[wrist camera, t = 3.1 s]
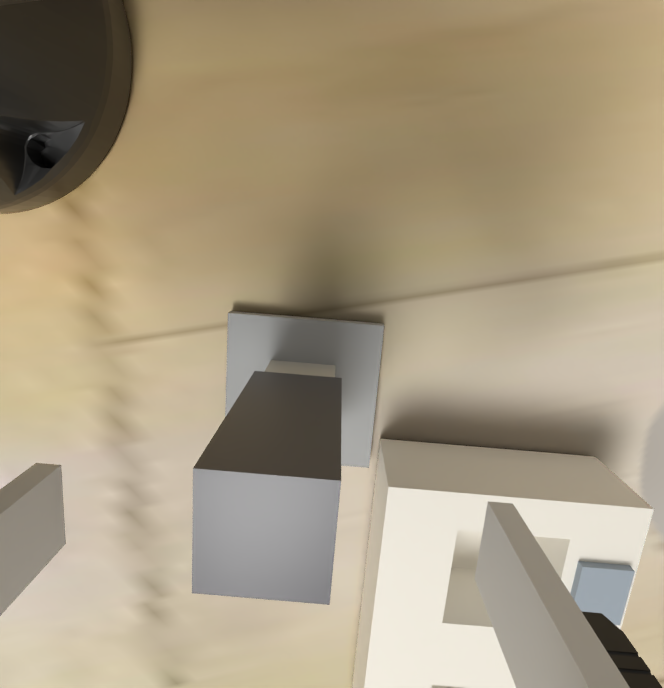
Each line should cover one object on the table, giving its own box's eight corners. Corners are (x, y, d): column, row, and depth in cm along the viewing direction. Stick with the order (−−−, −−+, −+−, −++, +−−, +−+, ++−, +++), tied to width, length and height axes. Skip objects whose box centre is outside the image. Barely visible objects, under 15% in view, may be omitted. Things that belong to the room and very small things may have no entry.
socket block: (379, 438, 26) (389, 491, 21) (595, 456, 26) (659, 514, 20) (350, 693, 30) (352, 791, 25) (535, 709, 30) (576, 811, 25)
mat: (230, 310, 24) (228, 313, 24) (383, 323, 24) (384, 325, 24) (226, 450, 26) (224, 455, 26) (368, 462, 26) (369, 467, 26)
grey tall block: (265, 353, 24) (192, 468, 12) (341, 360, 24) (341, 480, 12) (262, 424, 25) (192, 593, 13) (335, 431, 25) (329, 604, 13)
